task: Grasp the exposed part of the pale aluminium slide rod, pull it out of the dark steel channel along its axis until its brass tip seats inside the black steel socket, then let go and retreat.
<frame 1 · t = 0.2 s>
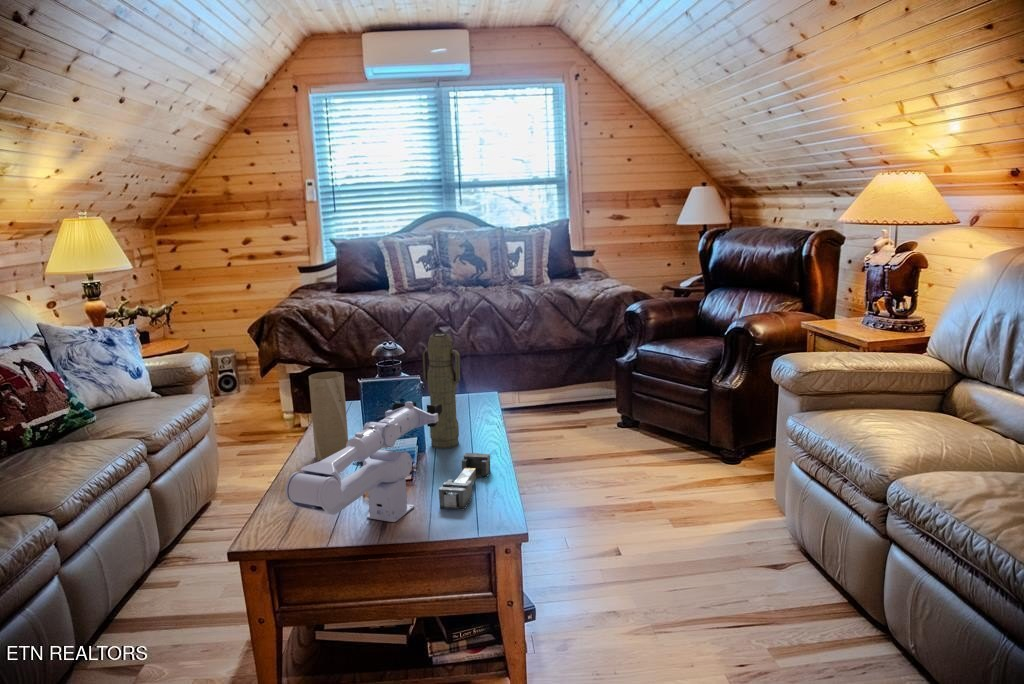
hand: (427, 406, 188), 21 cm above the table, tool horizontal, fingers open, 7 cm apart
rod: (460, 486, 183), point 3 cm above the table, slide at 0.0 cm
sleeve: (456, 502, 179), on the table
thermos: (445, 444, 224), on the table
tube: (332, 456, 216), on the table
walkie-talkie: (388, 463, 210), on the table
socket: (474, 477, 196), on the table
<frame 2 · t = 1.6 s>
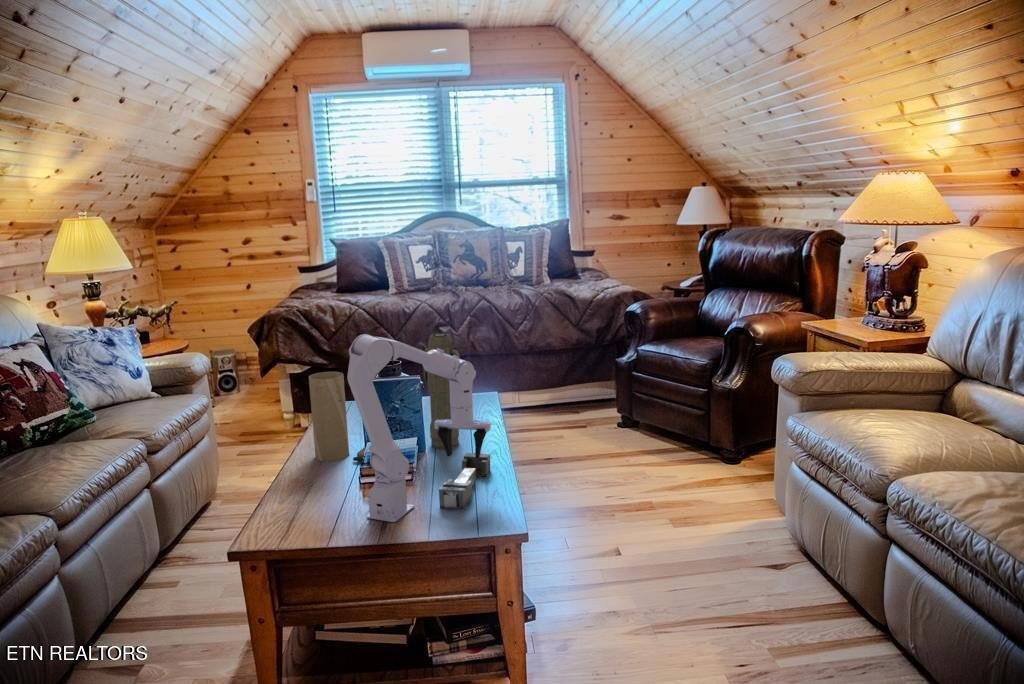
hand: (463, 455, 185), 9 cm above the table, tool pointing down, fingers open, 7 cm apart
nothing on the table moved.
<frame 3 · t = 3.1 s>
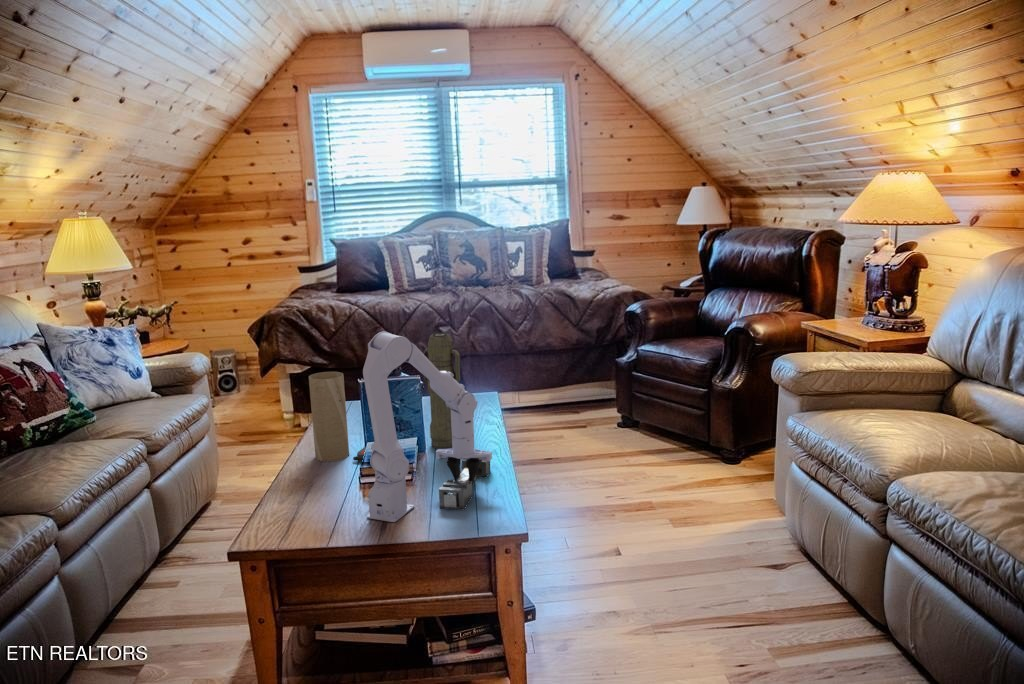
hand: (465, 485, 187), 1 cm above the table, tool pointing down, fingers closed on rod, 3 cm apart
rod: (460, 486, 183), point 3 cm above the table, slide at 0.0 cm, touching gripper
everything else where it was.
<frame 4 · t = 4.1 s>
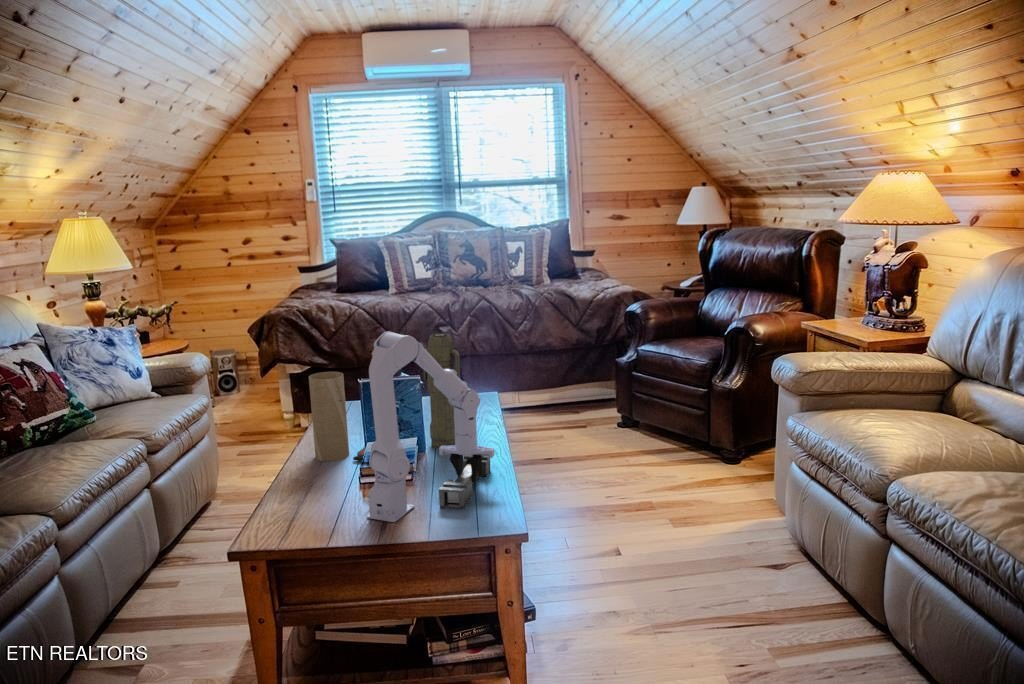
hand: (467, 481, 189), 1 cm above the table, tool pointing down, fingers closed on rod, 3 cm apart
rod: (463, 482, 185), point 3 cm above the table, slide at 2.6 cm, touching gripper
everything else where it was.
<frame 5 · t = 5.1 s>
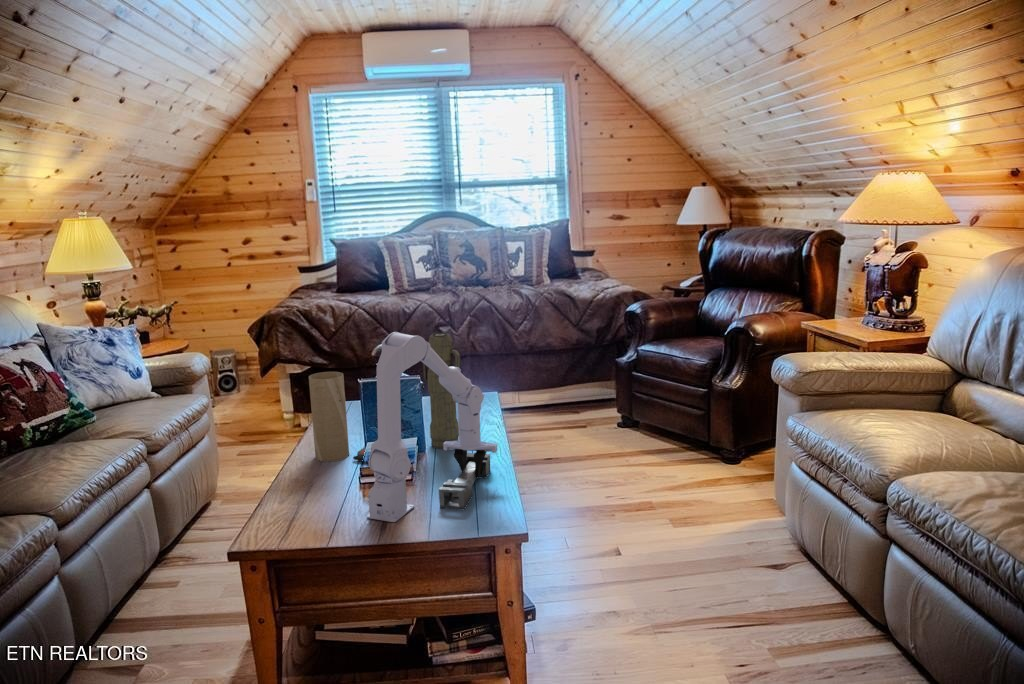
hand: (471, 476, 193), 1 cm above the table, tool pointing down, fingers closed on rod, 3 cm apart
rod: (467, 477, 189), point 3 cm above the table, slide at 6.2 cm, touching gripper
everything else where it was.
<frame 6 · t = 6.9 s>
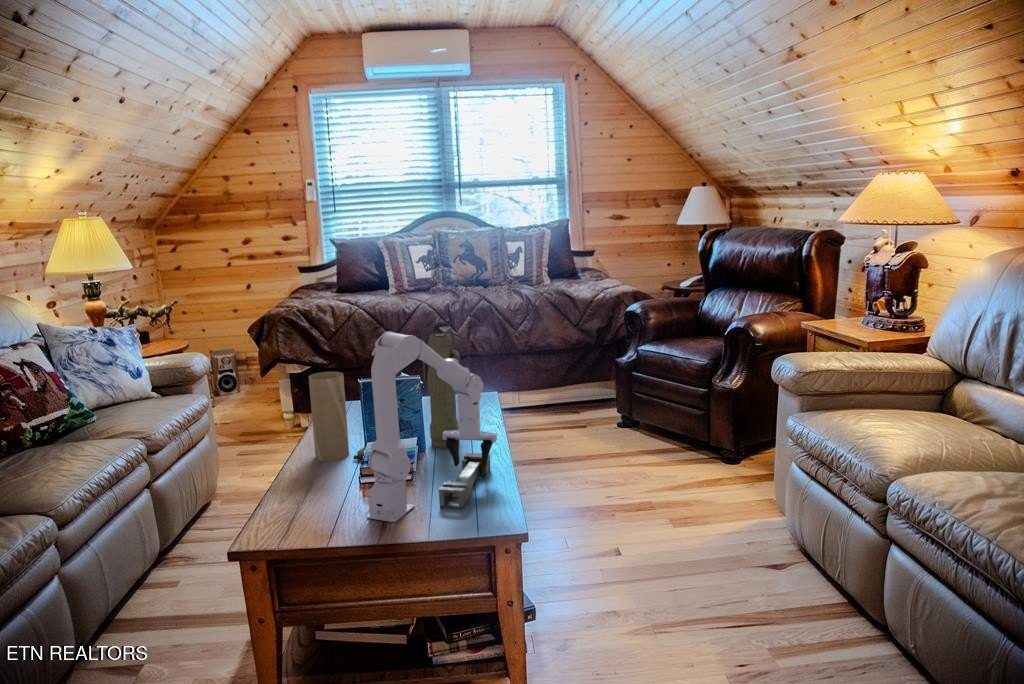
hand: (470, 465, 192), 4 cm above the table, tool pointing down, fingers open, 7 cm apart
rod: (467, 477, 189), point 3 cm above the table, slide at 6.2 cm
everything else where it was.
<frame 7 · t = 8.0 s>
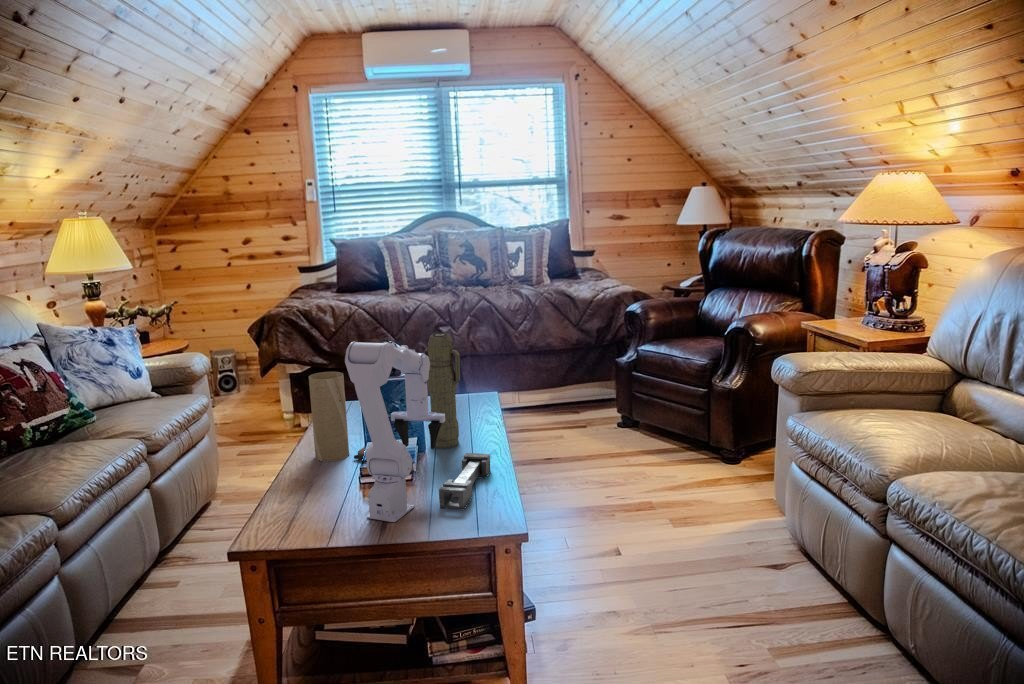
hand: (419, 447, 190), 10 cm above the table, tool pointing down, fingers open, 7 cm apart
nothing on the table moved.
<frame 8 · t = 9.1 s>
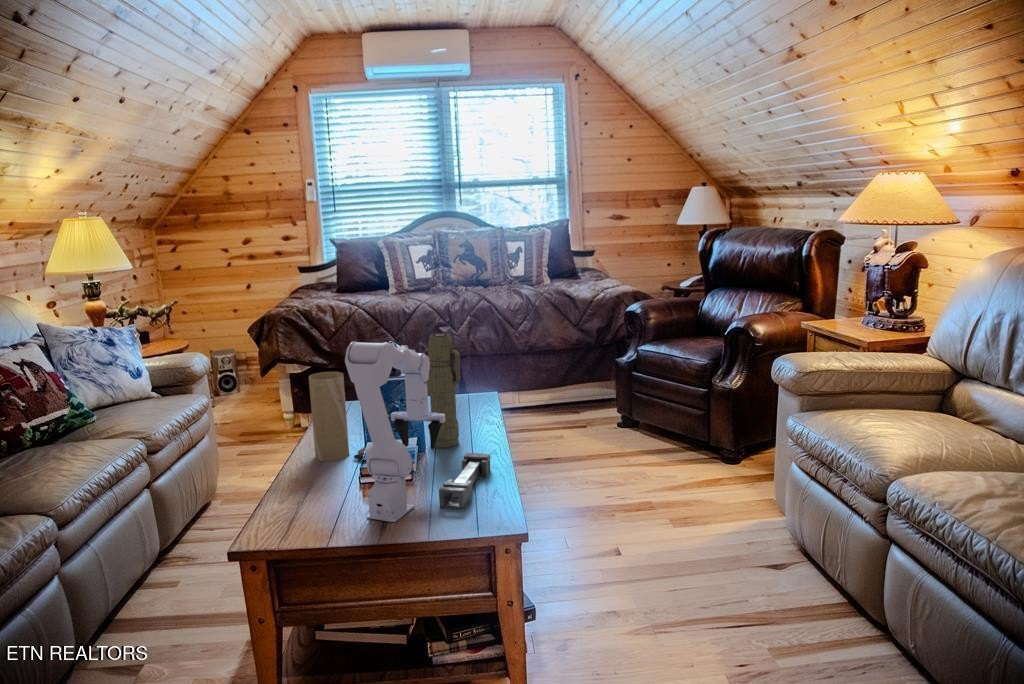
hand: (419, 447, 190), 10 cm above the table, tool pointing down, fingers open, 7 cm apart
at the end: rod slide at 6.2 cm; the gripper is holding nothing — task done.
